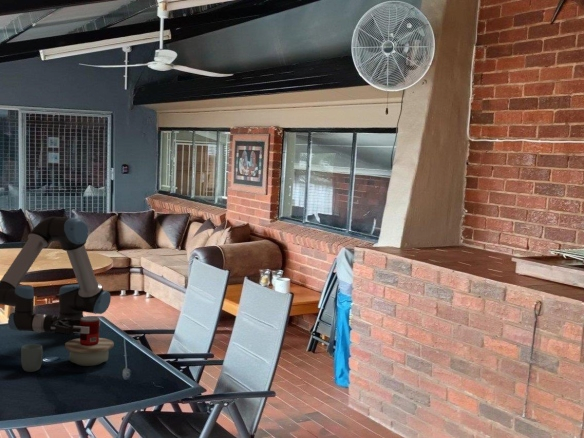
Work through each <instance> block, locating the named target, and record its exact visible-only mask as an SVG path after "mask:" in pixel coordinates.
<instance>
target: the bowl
mask: <svg viewBox="0 0 584 438" xmlns="http://www.w3.org/2000/svg"><path fill="white" fill-rule="evenodd" d="M109 350H110V349H109ZM109 350H106V351H102V352H94V353H80V352H73V351H69V361H70V362H71V363H73V364H75V365H77V366H83V367H93V366H94V367H95V366H98V365H100V364H102V363H105V362H107V361H108V360H109Z"/></svg>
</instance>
